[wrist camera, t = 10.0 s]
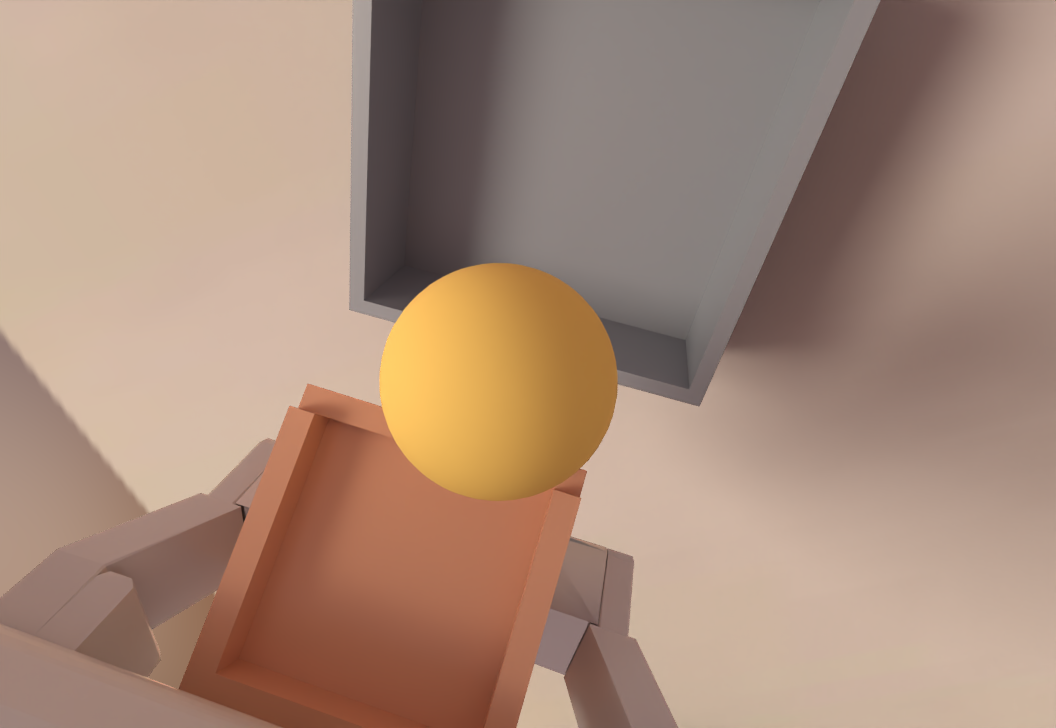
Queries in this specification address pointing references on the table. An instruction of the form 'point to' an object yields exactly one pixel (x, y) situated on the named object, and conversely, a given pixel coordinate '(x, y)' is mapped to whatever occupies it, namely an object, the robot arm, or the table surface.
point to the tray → (591, 154)
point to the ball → (498, 381)
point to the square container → (378, 586)
